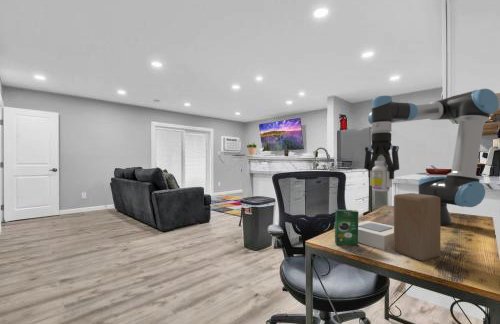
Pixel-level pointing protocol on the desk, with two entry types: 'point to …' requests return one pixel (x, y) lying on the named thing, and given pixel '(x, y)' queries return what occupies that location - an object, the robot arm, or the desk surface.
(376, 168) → the supplement bottle
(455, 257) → the desk surface
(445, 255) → the desk surface
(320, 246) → the desk surface
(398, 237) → the block
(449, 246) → the desk surface
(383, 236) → the plinth
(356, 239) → the coffee box
